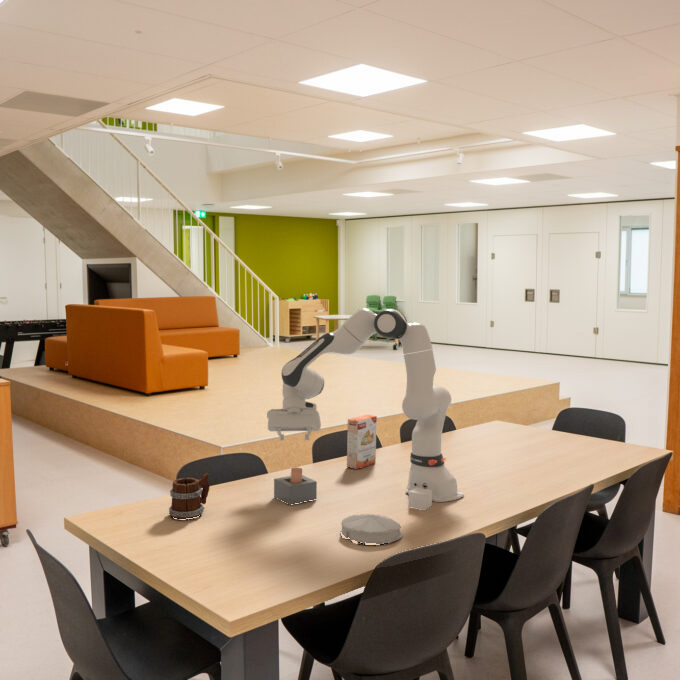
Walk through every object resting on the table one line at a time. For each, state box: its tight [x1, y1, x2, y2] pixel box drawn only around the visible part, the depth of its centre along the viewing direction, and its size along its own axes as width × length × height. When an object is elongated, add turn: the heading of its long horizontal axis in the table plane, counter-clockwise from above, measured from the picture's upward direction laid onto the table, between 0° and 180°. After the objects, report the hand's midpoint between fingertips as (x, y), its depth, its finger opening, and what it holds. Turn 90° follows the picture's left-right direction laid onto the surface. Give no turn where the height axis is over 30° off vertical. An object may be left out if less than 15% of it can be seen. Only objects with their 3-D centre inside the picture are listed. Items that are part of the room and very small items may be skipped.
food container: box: [340, 513, 403, 544], centre depth 224 cm, size 20×20×7 cm
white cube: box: [408, 487, 433, 511], centre depth 250 cm, size 6×6×6 cm
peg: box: [290, 467, 303, 484], centre depth 258 cm, size 4×4×10 cm
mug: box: [168, 472, 211, 519], centre depth 241 cm, size 12×14×15 cm
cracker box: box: [346, 414, 378, 470], centre depth 303 cm, size 14×6×21 cm, turn 143°
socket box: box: [273, 474, 318, 506], centre depth 258 cm, size 11×11×7 cm
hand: (294, 439), depth 268 cm, fingers open, 8 cm apart
